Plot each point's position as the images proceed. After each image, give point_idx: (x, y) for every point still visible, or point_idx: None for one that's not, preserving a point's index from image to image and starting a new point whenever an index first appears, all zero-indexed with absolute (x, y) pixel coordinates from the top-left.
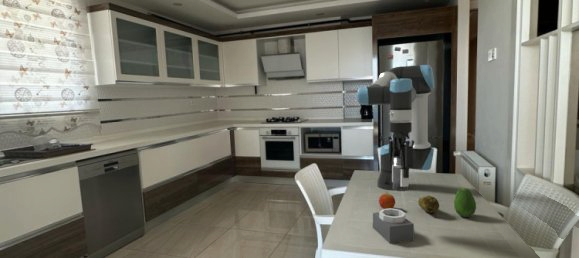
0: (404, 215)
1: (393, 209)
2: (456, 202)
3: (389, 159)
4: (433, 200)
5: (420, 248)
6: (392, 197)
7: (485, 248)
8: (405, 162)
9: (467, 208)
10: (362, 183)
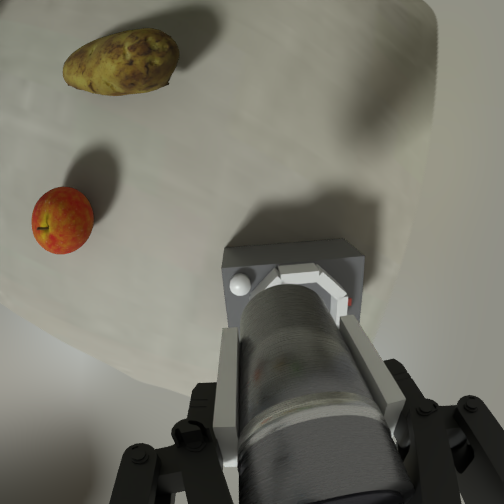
0: (334, 282)
1: None
2: None
3: (161, 498)
4: (160, 49)
5: (388, 243)
6: (64, 208)
7: (419, 75)
8: (457, 471)
9: None
10: None
